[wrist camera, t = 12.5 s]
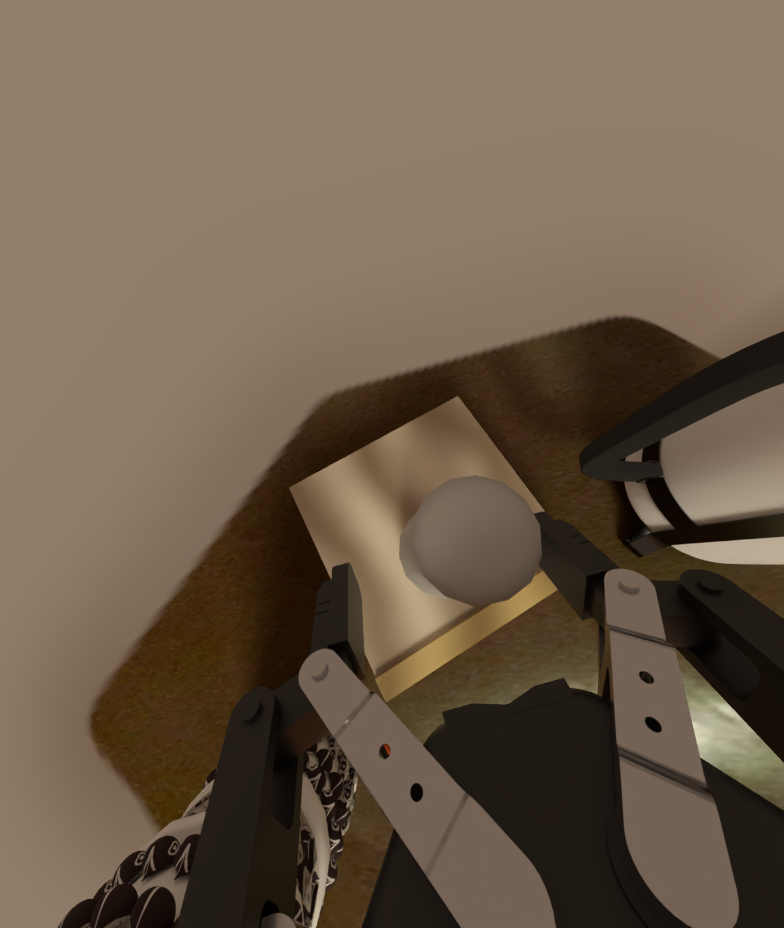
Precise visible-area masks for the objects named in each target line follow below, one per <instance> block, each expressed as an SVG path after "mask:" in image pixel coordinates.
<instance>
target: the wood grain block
mask: <svg viewBox="0 0 784 928" xmlns="http://www.w3.org/2000/svg"><path fill="white" fill-rule="evenodd" d="M474 475H477V476H481V477H485V478H489V479H493V480H497V481H501V482H503V483H505V484H506V485H507V486H508V487H510V488H511V489H512V490H514V491H515V492H516V493H517V494H519V495H520V496H521V497H522V498H524V499H525V500H526V502H527V504H528V505H529V507H530V509H531V511H532V512H533V514H534V513H538V512H542V511H544V510H543V508H542V507H541V506H540V504H539V503H538V502H537V500H536V499H535V498H534V496H533V495H532V494H531V492H530V491H529V490H528V488H527V487H526V486H525V484H524V483H523V482H522V480H521V479H520V478H519V476H518V475H517V474H516V472H515V471H514V470H513V468H512V467H511V466H510V464H509V463H508V462H507V461H506V459H505V458H504V457H503V455H502V454H501V453H500V451H499V450H498V449H497V447H496V446H495V445H494V443H493V442H492V441H491V439H490V438H489V437H488V435H487V434H486V433H485V431H484V430H483V429H482V427H481V426H480V425H479V423H478V422H477V421H476V419H475V418H474V417H473V415H472V414H471V413H470V411H469V410H468V409H467V407H466V406H465V405H464V403H463V402H462V401H461V400H460V398H459V397H458V396H457V397H455V398H453V399H451V400H450V401H448V402H446V403H444V404H442V405H440V406H438V407H437V408H435V409H433V410H431V411H429V412H427V413H426V414H424V415H422V416H420V417H418V418H416V419H415V420H413V421H411V422H409V423H407V424H405V425H403V426H402V427H400V428H398V429H396V430H394V431H392V432H391V433H389V434H387V435H385V436H383V437H381V438H380V439H378V440H376V441H374V442H372V443H370V444H368V445H367V446H365V447H363V448H361V449H359V450H357V451H356V452H354V453H352V454H350V455H348V456H346V457H345V458H343V459H341V460H339V461H337V462H335V463H333V464H332V465H330V466H328V467H326V468H324V469H322V470H321V471H319V472H317V473H315V474H313V475H311V476H310V477H308V478H306V479H304V480H302V481H300V482H298V483H297V484H295V485H293V486H291V487H289V489H290V491H291V493H292V495H293V498H294V500H295V502H296V504H297V506H298V509H299V511H300V513H301V515H302V517H303V519H304V522H305V524H306V526H307V528H308V530H309V532H310V535H311V537H312V539H313V541H314V543H315V546H316V548H317V550H318V552H319V554H320V556H321V559H322V561H323V563H324V565H325V567H326V570H327V572H328V574H329V576H330V578H332V568H333V566H337V565H341V564H344V563H348V562H350V564H351V566H352V569H353V571H354V574H355V576H356V579H357V582H358V584H359V587H360V591H361V596H362V611H363V633H364V652H365V655H366V657H367V659H368V661H369V663H370V665H371V668H372V670H373V672H374V674H375V676H376V678H375V680H376V682H377V684H378V687H379V689H380V691H381V693H382V695H383V698H384V700H385V702H387V701H389V700H390V699H392V698H393V697H395V696H396V695H398V694H399V693H401V692H402V691H404V690H406V689H407V688H409V687H410V686H412V685H413V684H415V683H416V682H418V681H419V680H421V679H422V678H424V677H425V676H427V675H428V674H430V673H431V672H433V671H434V670H436V669H437V668H439V667H441V666H442V665H444V664H445V663H447V662H448V661H450V660H451V659H453V658H454V657H456V656H457V655H459V654H460V653H462V652H463V651H465V650H466V649H468V648H469V647H471V646H472V645H474V644H476V643H477V642H479V641H480V640H482V639H483V638H485V637H486V636H488V635H489V634H491V633H492V632H494V631H495V630H497V629H498V628H500V627H501V626H503V625H504V624H506V623H507V622H509V621H511V620H512V619H514V618H515V617H517V616H518V615H520V614H521V613H523V612H524V611H526V610H527V609H529V608H530V607H532V606H533V605H535V604H536V603H538V602H539V601H541V600H543V599H544V598H546V597H547V596H549V595H550V594H552V593H553V592H555V591H556V590H558V589H557V588H556V587H555V585H554V584H553V583H552V581H551V580H550V579H549V578H548V576H547V575H546V574H545V573H544V571H543V570H542V569H541V568H540V566H539V565H538V567H537V569H536V572H535V575H534V577H533V580H532V582H531V583H530V584H528V585H527V586H526V587H525V588H523V589H522V590H521V591H519V592H518V593H517V594H516V595H514V596H513V597H512V598H510V599H509V600H507V601H503V602H497V603H491V604H486V605H480V606H471V605H468V604H466V603H463V602H460V601H457V600H454V599H451V598H446V599H441V598H438V597H435V596H432V595H430V594H427V593H424V592H422V591H421V590H420V589H419V588H418V587H417V586H416V585H414V584H413V583H412V582H411V581H410V580H409V579H408V578H407V577H406V574H405V572H404V569H403V566H402V564H401V561H400V558H399V545H400V535H401V533H402V531H403V530H404V528H405V526H406V525H407V523H408V521H409V519H410V518H412V517H413V516H414V515H415V514H416V512H417V510H418V509H419V507H420V505H421V503H422V502H423V500H424V498H425V496H427V495H428V494H429V493H431V492H432V491H434V490H435V489H436V488H438V487H439V486H440V485H442V484H443V483H445V482H446V481H448V480H449V479H454V478H461V477H468V476H474ZM544 512H545V511H544Z"/></svg>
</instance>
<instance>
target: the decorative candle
mask: <svg viewBox="0 0 784 928" xmlns="http://www.w3.org/2000/svg"><path fill="white" fill-rule="evenodd" d="M216 771H217V769H215V770H213V771H212V772H211V773H210V774H209V776H208V777H207V779H206V781H205V783H204V787H203V790H202V791H201V792H200V793H199V795H198V796H197V797H196V798H195V799H194V800H193V801H192V802H191V803H190V805H189V806H188V808H187V810H186V811H185V813H184V815H183V816H182V818H181V819H178V820H175V821H172V822H171V823H169V824H168V825H167V826H166V827H165V828H164V829H162V830H161V831H160V832H159V833H158V834H157V835H155V836H154V837H153V838H152V839H151V840H150V841H148V842H147V843H146V844H145V845H144V846H143V847H141V848H140V849H139V850H138V851H137V852H135V853H132V854H131V855H130V856H128V857H127V858H126V859H125V860H124V861H123V862H122V863H121V864H120V866H119V867H118V869H117V871H116V873H115V874H114V878H113V879H111V880H109V881H108V882H107V883H105V884H104V885H103V886H102V887H101V888H100V889H99V890H98V892H97V893H96V895H95V896H94V898H93V899H87V900H84V901H82V902H80V903H79V904H77V905H76V906H75V907H74V908H72V909H71V910H70V911H69V912H68V914H67V915H66V916H65V917H64V918H63V920H62V921H61V923H60V925H59V926H58V928H176V926H177V922H178V919H179V915H180V911H181V907H182V903H183V899H184V895H185V891H186V887H187V884H188V880H189V876H190V872H191V868H192V864H193V860H194V856H195V852H196V849H197V845H198V841H199V837H200V833H201V829H202V825H203V821H204V817H205V814H206V810H207V806H208V802H209V798H210V794H211V790H212V786H213V782H214V779H215V775H216ZM357 779H358V774H357V773H356V771H355V770H354V768H353V767H352V765H351V764H350V762H349V761H348V759H347V757H346V756H345V754H344V753H343V751H342V750H341V748H340V747H339V745H338V744H337V742H336V741H335V739H334V738H333V736H332V735H331V733H329V734H328V735H327V736H325V737H324V738H323V739H321V740H320V741H318V742H317V743H316V744H314V745H313V746H312V747H310V748H309V749H307V750H306V751H305V752H304V764H303V781H302V797H301V814H300V831H299V847H298V864H297V881H296V897H295V914H294V920H296V921H298V922H300V923H301V924H303V925H304V926H306V927H307V928H316V925H317V921H318V919H319V917H320V915H321V913H322V909H323V905H324V894H325V892H326V891H328V890H330V889H331V888H332V887H333V885H334V884H335V881H336V878H337V864H336V860H337V859H338V858H339V857H340V856H341V854H342V851H343V838H342V836H343V835H344V834H345V833H346V831H347V830H348V828H349V825H350V819H351V810H352V809H353V807H354V802H355V791H356V787H357Z"/></svg>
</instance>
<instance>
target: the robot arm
mask: <svg viewBox="0 0 784 928" xmlns="http://www.w3.org/2000/svg"><path fill="white" fill-rule="evenodd" d="M534 516H535V518H536V519H537V521H538V523H539V524H540V532H541V545H542V557H541V559H540V562H539V564H538V565H539V566H540V568H541V569H542V570H543V571H544V573H545V574H546V575H547V576H548V578H549V579H550V580H551V581H552V583H553V584H554V585H555V587H556V588H557V589H558V590H559V592H560V593H561V594H562V595H563V597H564V598H565V599H566V600H567V602H568V603H569V604H570V605H571V607H572V608H573V609H574V610H575V612H576V613H577V614H578V616H579V617H580V618H581V619H582V620H585V619H588V618H592V617H593V618H594V619H595V620H596V622H597V623H598V627H597V634H598V670H599V680H598V695H597V694H595V693H592V692H589V691H585V690H581V689H575V688H570V687H569V686H568V684H567V682H566V681H565V679H564V678H562V679H558V680H554V681H551V682H547V683H544V684H540V685H537V686H534V687H532V688H531V689H529V690H528V691H527V692H525V693H524V694H522V695H521V696H519V697H518V698H517V699H515V700H514V701H512V702H511V703H509V704H506V705H500V704H469V705H465V706H462V707H458V708H455V709H451V710H448V711H444V712H442V713H443V717H444V721H445V722H444V723H443V724H441V725H440V726H439V727H438V728H437V729H436V730H434V731H433V732H432V734H431V735H430V736H429V737H428V739H427V740H426V742H425V743H424V745H422V744H421V743H420V742H419V741H418V740H417V739H416V737H415V736H414V735H413V734H412V733H411V732H410V731H409V730H408V729H407V727H406V726H405V725H404V724H403V723H402V722H401V721H400V720H399V719H398V717H397V716H396V715H395V714H394V713H393V712H392V711H391V710H390V709H389V707H388V706H387V705H386V704H385V703H384V702H383V701H382V700H381V699H380V697H379V696H378V695H377V694H375V693H374V692H370V691H369V690H368V689H367V688H366V687H365V686H364V685H363V683H362V682H361V681H360V680H364V679H366V675H365V654H364V633H363V611H362V596H361V591H360V587H359V584H358V582H357V579H356V576H355V574H354V571H353V569H352V566H351V564H350V562H348V563H344V564H341V565H337V566H333V568H332V578H331V580H329V581H325V582H323V583H322V585H321V587H320V589H319V591H318V593H317V599H316V607H315V616H314V624H313V633H312V641H311V649H310V655H309V657H308V658H307V659H306V660H305V662H304V663H303V665H302V667H301V669H300V672H299V673H298V674H297V675H296V676H295V677H293V678H292V679H291V680H289V681H287V682H286V683H284V684H283V685H281V686H279V687H278V688H276V689H275V690H273V691H272V690H271V689H270V688H268V687H264V686H261V687H257V688H254V689H252V690H251V691H249V692H248V693H247V694H245V695H244V696H243V697H242V698H241V699H240V701H239V702H238V703H237V705H236V706H235V708H234V710H233V712H232V714H231V717H230V720H229V724H228V728H227V732H226V736H225V740H224V744H223V747H222V751H221V755H220V759H219V763H218V767H217V771H216V775H215V779H214V782H213V786H212V790H211V794H210V798H209V802H208V806H207V810H206V814H205V817H204V821H203V825H202V829H201V833H200V837H199V841H198V845H197V849H196V852H195V856H194V860H193V864H192V868H191V872H190V876H189V880H188V884H187V887H186V891H185V895H184V899H183V903H182V907H181V911H180V915H179V919H178V922H177V926H176V928H307V927H306V926H304V925H303V924H301V923H300V922H298V921H296V920H294V914H295V897H296V881H297V864H298V847H299V831H300V814H301V797H302V781H303V764H304V752H305V751H306V750H307V749H309V748H310V747H312V746H313V745H314V744H316V743H317V742H318V741H320V740H321V739H323V738H324V737H325V736H327V735H328V734H329V733H331V735H332V736H333V738H334V739H335V741H336V742H337V744H338V745H339V747H340V748H341V750H342V751H343V753H344V754H345V756H346V757H347V759H348V761H349V762H350V764H351V765H352V767H353V768H354V770H355V771H356V773H357V774H358V776H359V777H360V779H361V780H362V782H363V783H364V785H365V786H366V788H367V789H368V791H369V792H370V794H371V795H372V797H373V798H374V800H375V801H376V803H377V804H378V806H379V807H380V809H381V810H382V812H383V814H384V815H385V817H386V818H387V820H388V821H389V823H390V824H391V826H392V827H393V829H394V830H393V833H392V836H391V839H390V842H389V845H388V848H387V852H386V855H385V858H384V861H383V864H382V867H381V870H380V873H379V876H378V879H377V882H376V885H375V888H374V891H373V894H372V898H371V901H370V904H369V907H368V910H367V913H366V916H365V919H364V922H363V925H362V928H784V810H782V809H780V808H779V807H777V806H776V805H774V804H772V803H771V802H769V801H768V800H766V799H765V798H763V797H761V796H760V795H758V794H757V793H755V792H754V791H752V790H750V789H749V788H747V787H746V786H744V785H743V784H741V783H739V782H738V781H736V780H735V779H733V778H732V777H730V776H728V775H727V774H725V773H724V772H722V771H721V770H719V769H717V768H716V767H714V766H713V765H711V764H710V763H708V762H706V761H705V760H703V759H702V758H700V755H699V751H698V747H697V742H696V738H695V734H694V729H693V725H692V721H691V716H690V712H689V707H688V703H687V699H686V694H685V690H684V686H683V681H682V677H681V673H680V668H679V664H678V660H677V655H676V651H675V648H676V649H677V650H678V651H679V652H680V653H681V654H682V655H683V656H684V657H685V658H686V659H687V660H688V661H689V662H690V664H691V665H692V666H693V667H694V668H695V669H696V670H697V671H698V672H699V673H700V674H701V675H702V676H703V677H704V678H705V679H706V681H707V682H708V683H709V684H710V685H711V686H712V687H713V688H714V689H715V690H716V691H717V692H718V693H719V694H720V695H721V696H722V698H723V699H724V700H725V701H726V702H727V703H728V704H729V705H730V706H731V707H732V708H733V709H734V710H735V711H736V712H737V713H738V715H739V716H740V717H741V718H742V719H743V720H744V721H745V722H746V723H747V724H748V725H749V726H750V727H751V728H752V729H753V730H754V732H755V733H756V734H757V735H758V736H759V737H760V738H761V739H762V740H763V741H764V742H765V743H766V744H767V745H768V746H769V747H770V749H771V750H772V751H773V752H774V753H775V754H776V755H777V756H778V757H779V758H780V759H781V760H782V761H783V762H784V619H783V618H782V617H780V616H779V615H777V614H776V613H775V612H773V611H772V610H770V609H769V608H768V607H766V606H765V605H763V604H762V603H761V602H759V601H758V600H756V599H755V598H754V597H752V596H751V595H749V594H748V593H747V592H745V591H744V590H743V589H741V588H740V587H738V586H737V585H736V584H734V583H733V582H731V581H730V580H728V579H727V578H725V577H723V576H721V575H718V574H716V573H713V572H710V571H705V570H698V569H692V570H687V571H685V572H683V573H682V574H681V576H680V579H679V581H653V580H648V579H647V578H646V577H644V576H643V575H641V574H639V573H637V572H634V571H631V570H627V569H621V568H619V567H618V566H617V565H616V564H615V563H614V562H613V561H611V560H610V559H609V558H608V557H607V556H606V555H605V554H604V553H602V552H601V551H600V550H599V549H598V548H597V547H596V546H595V545H594V544H592V543H591V542H589V540H588V539H587V538H586V537H585V536H583V535H582V534H581V533H580V532H579V531H578V530H577V529H576V528H574V527H573V526H572V525H570V524H568V523H566V522H564V521H562V520H560V519H559V520H555V521H554V520H553V519H552V518H551V517H550V516H549V515H548V514H547V513H546V512H544V511H542V512H538V513H534ZM674 647H675V648H674Z"/></svg>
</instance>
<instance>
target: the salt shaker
mask: <svg viewBox="0 0 784 928" xmlns="http://www.w3.org/2000/svg"><path fill="white" fill-rule="evenodd" d="M541 557H542V545H541V532H540V524H539V523H538V521H537V519H536V518H535V516H534V514H533V512H532V511H531V509H530V507H529V505H528V504H527V502H526V500H525V499H524V498H522V497H521V496H520V495H519V494H517V493H516V492H515V491H514V490H512V489H511V488H510V487H508V486H507V485H506V484H505V483H503V482H501V481H497V480H493V479H489V478H485V477H481V476H477V475H474V476H468V477H461V478H454V479H449V480H448V481H446V482H445V483H443V484H442V485H440V486H439V487H438V488H436V489H435V490H434V491H432V492H431V493H429V494H428V495H427V496H425V498H424V500H423V502H422V503H421V505H420V507H419V509H418V510H417V512H416V514H415V515H414V516H413V517H412V518H410V519H409V521H408V523H407V525H406V526H405V528H404V530H403V531H402V533H401V535H400V545H399V558H400V561H401V564H402V566H403V569H404V572H405V574H406V577H407V578H408V579H409V580H410V581H411V582H412V583H413V584H414V585H416V586H417V587H418V588H419V589H420V590H421V591H422V592H424V593H427V594H430V595H432V596H435V597H438V598H441V599H446V598H451V599H454V600H457V601H460V602H463V603H466V604H468V605H471V606H480V605H486V604H491V603H497V602H503V601H507V600H509V599H510V598H512V597H513V596H514V595H516V594H517V593H518V592H519V591H521V590H522V589H523V588H525V587H526V586H527V585H528V584H530V583H531V582H532V580H533V577H534V575H535V572H536V569H537V567H538V564H539V562H540V559H541Z"/></svg>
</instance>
